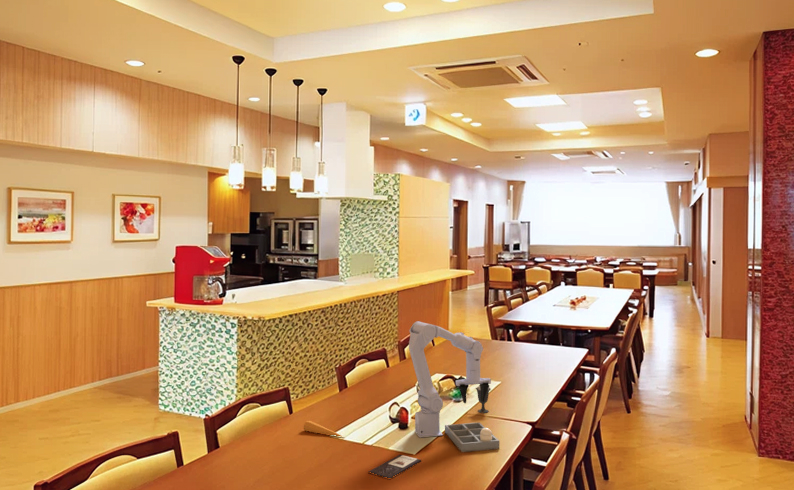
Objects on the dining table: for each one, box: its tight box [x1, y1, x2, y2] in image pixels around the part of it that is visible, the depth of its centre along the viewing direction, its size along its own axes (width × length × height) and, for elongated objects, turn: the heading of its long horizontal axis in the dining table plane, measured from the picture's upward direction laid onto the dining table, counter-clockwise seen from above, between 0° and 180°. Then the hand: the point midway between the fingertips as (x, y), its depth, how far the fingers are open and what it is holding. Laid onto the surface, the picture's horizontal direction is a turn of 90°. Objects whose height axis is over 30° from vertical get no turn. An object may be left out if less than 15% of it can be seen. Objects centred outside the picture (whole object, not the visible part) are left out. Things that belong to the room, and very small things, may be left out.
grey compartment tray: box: [444, 421, 500, 453], centre depth 222 cm, size 14×21×3 cm
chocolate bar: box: [368, 454, 422, 479], centre depth 198 cm, size 9×1×18 cm
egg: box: [480, 427, 493, 441], centre depth 216 cm, size 4×4×6 cm
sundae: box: [475, 384, 492, 414], centre depth 258 cm, size 7×7×15 cm
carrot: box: [302, 420, 342, 436], centre depth 231 cm, size 20×4×4 cm, turn 61°
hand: (473, 401), depth 240 cm, fingers open, 7 cm apart
